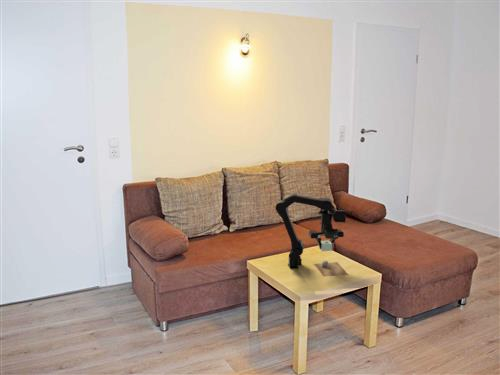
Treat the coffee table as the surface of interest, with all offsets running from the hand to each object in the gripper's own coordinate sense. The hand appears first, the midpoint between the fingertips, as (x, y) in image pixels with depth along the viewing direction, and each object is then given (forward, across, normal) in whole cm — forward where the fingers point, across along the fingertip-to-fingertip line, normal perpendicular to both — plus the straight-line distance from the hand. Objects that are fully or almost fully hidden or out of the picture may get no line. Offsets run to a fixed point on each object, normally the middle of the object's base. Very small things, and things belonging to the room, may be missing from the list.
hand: (325, 248), depth 248 cm
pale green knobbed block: (0, 0, 0) cm, 0 cm away
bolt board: (+12, +2, -4) cm, 13 cm away
